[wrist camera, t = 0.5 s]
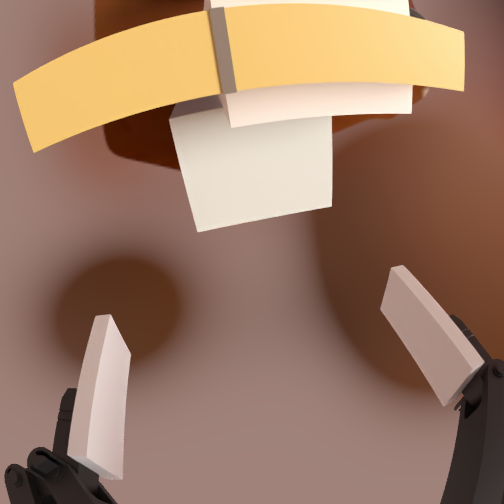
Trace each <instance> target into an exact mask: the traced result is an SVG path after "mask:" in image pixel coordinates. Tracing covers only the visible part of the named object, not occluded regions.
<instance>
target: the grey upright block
mask: <svg viewBox="0 0 504 504" xmlns="http://www.w3.org/2000/svg"><path fill="white" fill-rule="evenodd" d="M169 123H170V127H171V131H172V135H173V140H174V144H175V148H176V152H177V156H178V160H179V164H180V168H181V172H182V176H183V179H184V183H185V187H186V191H187V195H188V198H189V202H190V206H191V210H192V213H193V217H194V220H195V224H196V228H197V231H198V232H201V231H206V230H211V229H215V228H220V227H225V226H230V225H235V224H240V223H245V222H250V221H255V220H260V219H265V218H271V217H276V216H281V215H287V214H292V213H297V212H303V211H308V210H314V209H319V208H325V207H330V206H332V119H331V116H320V117H309V118H299V119H290V120H282V121H274V122H266V123H260V124H253V125H247V126H241V127H235V128H231V127H230V124H229V122H228V120H227V118H226V115H225V113H224V109H223V106H222V104H221V102H220V100H219V97H218V95H217V94H216V95H211V96H206V97H201V98H196V99H191V100H187V101H182V102H178V103H176V105H175V107H174V109H173V111H172V114H171V116H170V118H169Z"/></svg>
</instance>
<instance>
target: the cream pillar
mask: <svg viewBox="0 0 504 504" xmlns="http://www.w3.org/2000/svg"><path fill="white" fill-rule="evenodd" d="M281 3H308V4H329V5H342V6H352V7H360V8H368V9H374V10H381V11H386V12H392V13H397V14H402V15H406V16H410V13H409V4H408V0H204V11H207V10H209V9H211V8H217V7H224V8H227V7H236V6H246V5H259V4H281ZM217 95H218V97H219V100H220V102H221V104H222V106H223V109H224V113H225V115H226V118H227V120H228V122H229V124H230V127H231V128H235V127H241V126H247V125H253V124H260V123H266V122H274V121H282V120H290V119H299V118H309V117H320V116H333V115H350V114H382V113H405V114H407V113H408V114H411V110H412V85H411V84H398V83H378V82H325V83H305V84H291V85H280V86H271V87H262V88H254V89H247V90H240V91H237V92H236V93H230V94H224V95H223V94H217Z"/></svg>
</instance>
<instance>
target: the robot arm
mask: <svg viewBox="0 0 504 504" xmlns="http://www.w3.org/2000/svg"><path fill="white" fill-rule="evenodd" d="M381 311H382V312H383V314H384V315H385V317H386V318H387V320H388V321H389V322H390V324H391V325H392V326H393V328H394V330H395V331H396V333H397V334H398V336H399V337H400V338H401V340H402V342H403V343H404V345H405V346H406V347H407V349H408V351H409V352H410V354H411V355H412V357H413V358H414V360H415V361H416V363H417V364H418V366H419V368H420V369H421V371H422V372H423V374H424V375H425V377H426V378H427V380H428V382H429V383H430V385H431V387H432V388H433V390H434V392H435V393H436V395H437V396H438V398H439V400H440V402H441V403H442V405H443V406H445V405H447V404H448V403H450V402H452V401H454V400H455V399H456V398H457V397H458V396H459V395H460V393H461V392H462V393H463V395H464V396H463V398H462V399H461V400H460V401H459V402H458V403H457V405H456V406H455V409H454V410H457V409H458V407H459V406H460V405H461V408H460V409H459V411H460V417H459V425H458V431H457V437H456V443H455V448H454V453H453V458H452V462H451V467H450V471H449V475H448V479H447V482H446V486H445V490H444V493H443V496H442V500H441V503H440V504H504V361H502V360H500V359H494V360H493V359H492V358H491V357H490V356H489V354H488V353H487V352H486V350H485V349H484V348H483V347H482V345H481V344H480V343H479V342H478V340H477V339H476V338H475V337H474V336H473V334H472V333H471V332H470V330H468V328H467V327H466V326H465V324H464V323H463V322H462V321H461V320H460V319H459V318H457V317H455V316H454V315H450V316H448V315H447V314H446V312H445V311H444V310H443V309H442V308H441V307H440V305H439V304H438V303H437V302H436V301H435V300H434V298H433V297H432V296H431V295H430V294H429V293H428V292H427V291H426V289H425V288H424V287H423V286H422V285H421V284H420V283H419V282H418V281H417V280H416V278H415V277H414V276H413V275H412V274H411V273H410V272H409V271H408V270H407V269H406V268H405V267H404V266H403V265H401V266H397V267H392V268H391V271H390V274H389V279H388V282H387V286H386V290H385V294H384V298H383V301H382V305H381ZM130 356H131V354H130V352H129V350H128V348H127V346H126V344H125V342H124V340H123V339H122V337H121V335H120V333H119V331H118V329H117V327H116V325H115V323H114V321H113V319H112V316H111V315H101V316H96V317H95V320H94V324H93V327H92V331H91V335H90V338H89V342H88V345H87V349H86V353H85V357H84V361H83V366H82V370H81V375H80V379H79V384H78V388H77V389H76V388H68V389H67V391H66V392H65V394H64V396H63V397H62V400H61V404H60V412H59V414H58V421H57V426H56V431H55V437H54V444H53V451H52V452H51V451H50V450H48V449H46V448H44V447H38V448H35V449H33V451H31V453H30V454H29V456H28V459H27V466H28V468H26V469H25V468H23V467H22V466H20V465H18V464H11V465H10V466H8V468H7V469H6V471H5V484H6V487H7V491H8V495H9V499H10V502H11V504H117V503H116V501H115V500H114V499H113V498H112V497H111V495H110V494H109V493H108V492H107V490H106V489H105V488H104V486H103V485H102V484H101V483H100V482H99V479H98V478H99V475H100V476H102V477H103V478H105V479H114V480H123V441H124V420H125V406H126V393H127V383H128V373H129V364H130Z"/></svg>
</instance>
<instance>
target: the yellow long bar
mask: <svg viewBox="0 0 504 504" xmlns="http://www.w3.org/2000/svg"><path fill="white" fill-rule="evenodd" d="M464 52H465V51H464V32H462V31H459V30H456V29H453V28H450V27H447V26H444V25H440V24H437V23H434V22H430V21H427V20H423V19H419V18H415V17H411V16H406V15H402V14H397V13H392V12H386V11H381V10H374V9H368V8H360V7H352V6H342V5H329V4H308V3H281V4H259V5H246V6H236V7H227V8H224V7H217V8H211V9H209V10H207V11H201V12H195V13H190V14H185V15H180V16H176V17H171V18H167V19H163V20H159V21H155V22H152V23H148V24H144V25H141V26H138V27H134V28H131V29H128V30H125V31H122V32H119V33H116V34H113V35H111V36H108V37H105V38H103V39H100V40H97V41H95V42H92V43H90V44H88V45H85V46H83V47H81V48H78V49H76V50H74V51H72V52H69V53H67V54H65V55H63V56H61V57H59V58H57V59H55V60H53V61H51V62H49V63H47V64H45V65H43V66H41V67H40V68H38V69H36V70H34V71H32V72H31V73H29V74H27V75H26V76H24V77H22V78H21V79H19V80H17V81H16V82H14V83H13V86H14V90H15V94H16V98H17V102H18V105H19V109H20V112H21V115H22V119H23V122H24V125H25V128H26V132H27V135H28V138H29V141H30V144H31V146H32V149H33V152H34V153H35V152H37V151H39V150H41V149H44V148H46V147H48V146H50V145H52V144H55V143H57V142H59V141H62V140H64V139H66V138H69V137H71V136H74V135H76V134H78V133H81V132H83V131H86V130H89V129H92V128H94V127H97V126H100V125H103V124H106V123H109V122H112V121H115V120H118V119H121V118H124V117H127V116H130V115H133V114H137V113H140V112H144V111H147V110H151V109H154V108H158V107H162V106H166V105H170V104H174V103H178V102H182V101H187V100H191V99H196V98H201V97H206V96H211V95H216V94H223V95H224V94H230V93H236V92H237V91H240V90H247V89H254V88H262V87H271V86H280V85H291V84H305V83H325V82H378V83H398V84H411V85H421V86H430V87H438V88H445V89H452V90H459V91H464V71H465V70H464V69H465V67H464V66H465V60H464V59H465V57H464V56H465V53H464Z"/></svg>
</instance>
